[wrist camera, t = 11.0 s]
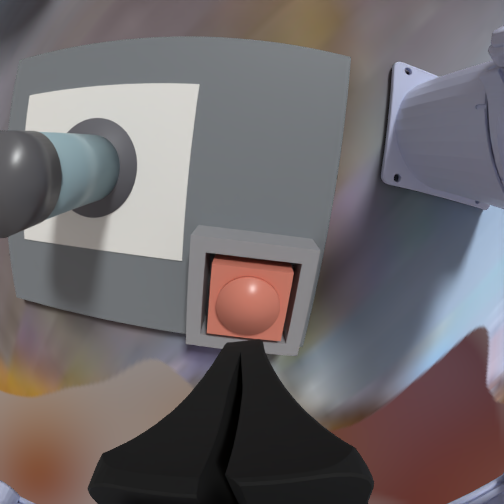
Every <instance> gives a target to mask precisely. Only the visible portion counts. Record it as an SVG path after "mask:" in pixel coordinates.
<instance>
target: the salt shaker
mask: <svg viewBox="0 0 504 504" xmlns="http://www.w3.org/2000/svg"><path fill="white" fill-rule="evenodd" d="M119 171H120V162H119V156H118V153H117V151H116V149H115V147H114V146H113V144H112V143H111V142H110V141H109V140H108V139H106V138H104V137H102V136H99V135H90V134H75V133H54V132H37V131H16V130H7V131H0V238H6V237H9V236H11V235H14V234H16V233H18V232H21V231H23V230H25V229H28V228H30V227H32V226H35V225H37V224H40V223H41V222H43V221H44V220H46V219H49V218H52V217H54V216H57V215H59V214H62V213H65V212H67V211H70V210H73V209H75V208H78V207H81V206H84V205H87V204H89V203H92V202H95V201H98V200H101V199H103V198H104V197H106V196H107V195H108V194H109V193H110V192H111V191H112V190H113V188H114V187H115V185H116V183H117V180H118V177H119Z"/></svg>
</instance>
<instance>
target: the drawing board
mask: <svg viewBox="0 0 504 504" xmlns="http://www.w3.org/2000/svg"><path fill="white" fill-rule="evenodd" d="M350 62H351V57H348V56H344V55H340V54H336V53H331V52H327V51H322V50H317V49H312V48H307V47H301V46H295V45H289V44H282V43H275V42H267V41H259V40H249V39H237V38H222V37H154V38H139V39H127V40H118V41H109V42H102V43H95V44H89V45H83V46H77V47H72V48H67V49H62V50H57V51H53V52H49V53H44V54H40V55H37V56H33V57H29V58H26V59H22V60H20V61H19V65H18V70H17V75H16V80H15V85H14V91H13V97H12V103H11V111H10V119H9V128H8V130H16V131H37V132H54V133H75V134H90V135H99V136H102V137H104V138H106V139H108V140H109V141H110V142H111V143H112V144H113V146H114V147H115V149H116V151H117V153H118V156H119V162H120V171H119V177H118V180H117V183H116V185H115V187H114V188H113V190H112V191H111V192H110V193H109V194H108V195H107V196H106V197H104V198H103V199H101V200H98V201H95V202H92V203H89V204H87V205H84V206H81V207H78V208H75V209H73V210H70V211H67V212H65V213H62V214H59V215H57V216H54V217H52V218H49V219H46V220H44V221H43V222H41V223H40V224H37V225H35V226H32V227H30V228H28V229H25V230H23V231H21V232H18V233H16V234H14V235H11V236H9V237H8V241H9V251H10V259H11V266H12V273H13V279H14V285H15V291H16V296H17V297H18V298H21V299H25V300H28V301H32V302H36V303H39V304H43V305H47V306H51V307H54V308H58V309H62V310H66V311H70V312H75V313H79V314H83V315H88V316H92V317H96V318H101V319H106V320H111V321H115V322H120V323H125V324H131V325H136V326H141V327H147V328H152V329H158V330H164V331H170V332H177V333H183V334H186V344H190V345H197V346H204V347H212V348H219V349H223V347H224V345H225V344H226V343H227V342H238V341H248V340H257V339H252V338H243V337H234V336H226V335H218V334H210V333H207V322H208V308H209V294H210V281H211V269H212V262H213V260H214V257H215V254H223V255H231V256H240V257H248V258H256V259H265V260H273V261H282V262H290V263H291V266H292V269H293V272H294V275H293V280H292V286H291V291H290V296H289V302H288V307H287V312H286V317H285V322H284V327H283V332H282V337H281V341H273V340H262V339H260V340H262V341H263V344H264V350H265V353H266V354H277V355H290V356H297V354H298V350H299V346H300V347H303V343H304V339H305V335H306V331H307V327H308V323H309V319H310V314H311V310H312V306H313V301H314V297H315V292H316V288H317V283H318V278H319V274H320V269H321V264H322V259H323V254H324V249H325V244H326V238H327V233H328V228H329V222H330V216H331V211H332V205H333V199H334V193H335V187H336V180H337V174H338V167H339V160H340V153H341V146H342V138H343V130H344V122H345V113H346V104H347V95H348V85H349V74H350Z"/></svg>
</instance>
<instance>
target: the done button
mask: <svg viewBox="0 0 504 504" xmlns="http://www.w3.org/2000/svg"><path fill="white" fill-rule="evenodd" d="M293 275H294V272H293V269H292V266H291V263H290V262H282V261H273V260H265V259H256V258H248V257H240V256H231V255H223V254H215V257H214V260H213V262H212V269H211V281H210V294H209V308H208V322H207V333H210V334H218V335H226V336H234V337H243V338H252V339H262V340H273V341H281V337H282V332H283V327H284V322H285V317H286V312H287V307H288V302H289V296H290V291H291V286H292V280H293Z"/></svg>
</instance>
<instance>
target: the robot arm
mask: <svg viewBox="0 0 504 504" xmlns="http://www.w3.org/2000/svg"><path fill="white" fill-rule="evenodd" d="M488 52H489V54H490V56H491V58H492V60H493V61H489V62H486V63H482V64H479V65H475V66H472V67H469V68H465V69H462V70H459V71H456V72H453V73H450V74H447V75H444V76H441V77H438V76H436V75H434V74H431V73H429V72H426V71H424V70H421V69H419V68H416V67H413V66H411V65H408V64H405V63H403V62H396V63H394V64H393V66H392V78H391V93H390V105H389V115H388V125H387V134H386V142H385V149H384V157H383V164H382V170H381V179H382V181H383V182H384V183H386V184H389V185H393V186H398V187H402V188H406V189H410V190H415V191H419V192H423V193H427V194H431V195H434V196H438V197H442V198H446V199H449V200H453V201H456V202H460V203H463V204H467V205H470V206H474V207H477V208H480V209H483V210H487V209H488V208H489V206H490V205H492V206H495V207H498V208H502V209H504V25H503V26H501V27H499V28H498V29H496V30H495V31H494V32H493V33H492V39H491V45H490V46H489V49H488ZM405 69H407V70H408V71H409V75H407V74H406V73H405ZM395 174H397V175H398V180H397V181H396V182H395V181H394V175H395ZM475 200H476V202H475ZM373 487H374V481H373V478H372V475H371V473H370V471H369V469H368V467H367V465H366V463H365V462H364V460H363V459H362V457H361V455H360V454H359V453H358V451H357V450H356V448H354V447H353V446H351V445H349V444H348V443H346V442H344V441H343V440H341V439H340V438H338V437H337V436H335V435H334V434H332V433H331V432H330V431H328V430H327V429H326V428H324V427H323V426H322V425H321V424H319V423H318V422H317V421H316V420H315V419H314V418H313V417H311V416H310V415H309V414H308V413H307V412H306V411H305V410H304V409H303V408H302V407H301V406H300V405H299V404H298V403H297V402H296V400H295V399H294V398H293V397H292V396H291V395H290V393H289V392H288V391H287V389H286V388H285V387H284V385H283V384H282V382H281V381H280V379H279V378H278V376H277V375H276V373H275V371H274V369H273V368H272V366H271V364H270V362H269V360H268V358H267V355H266V353H265V350H264V344H263V341H262V340H260V339H257V340H248V341H238V342H227V343H226V344H225V345H224V347H223V349H222V350H221V352H220V353H219V355H218V357H217V358H216V360H215V361H214V363H213V364H212V366H211V367H210V369H209V370H208V371H207V373H206V374H205V376H204V377H203V378H202V380H201V381H200V382H199V383H198V384H197V386H196V387H195V388H194V389H193V391H192V392H191V393H190V394H189V395H188V396H187V397H186V398H185V400H183V401H182V403H180V404H179V405H178V407H176V408H175V409H174V410H173V411H172V412H171V413H170V414H168V415H167V416H166V417H164V418H163V419H162V420H161V421H159V422H158V423H157V424H156V425H154V426H153V427H151V428H150V429H148V430H147V431H145V432H144V433H142V434H140V435H139V436H137V437H136V438H134V439H132V440H130V441H128V442H127V443H124V444H122V445H120V446H118V447H116V448H114V449H112V450H110V451H108V452H105V453H103V454H102V456H101V458H100V460H99V462H98V464H97V466H96V468H95V471H94V474H93V476H92V479H91V481H90V484H89V486H88V491H89V494H90V495H91V497H92V498H93V499H94V500H95V501H96V502H97V503H98V504H368V500H369V498H370V495H371V493H372V490H373ZM0 504H35V503H32V502H31V501H28V500H26V499H24V498H22V497H20V496H19V494H18V493H17V492H15V490H13V489H12V488H11V487H10V486H9V485H7V484H6V483H4V482H3V481H1V480H0ZM448 504H504V473H503V475H501V476H500V477H498V478H496V479H495V480H493V481H491V482H490V483H488V484H486V485H484V486H482V487H480V488H479V489H477V490H475V491H473V492H471V493H469V494H467V495H465V496H463V497H461V498H459V499H457V500H455V501H452V502H450V503H448Z"/></svg>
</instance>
